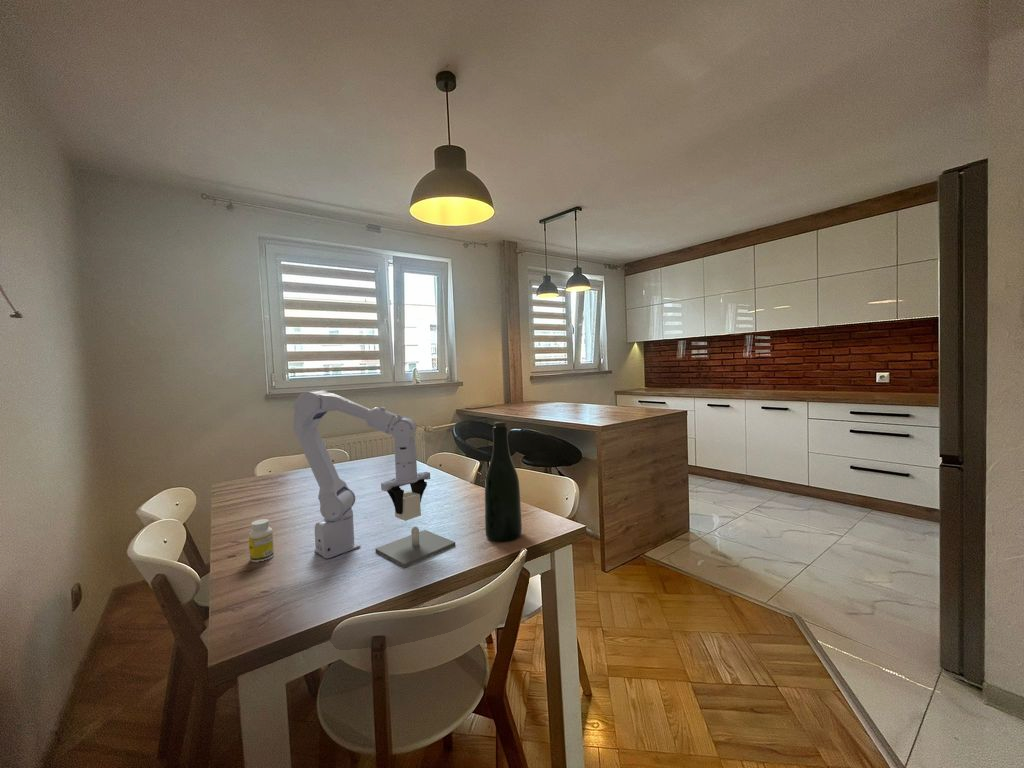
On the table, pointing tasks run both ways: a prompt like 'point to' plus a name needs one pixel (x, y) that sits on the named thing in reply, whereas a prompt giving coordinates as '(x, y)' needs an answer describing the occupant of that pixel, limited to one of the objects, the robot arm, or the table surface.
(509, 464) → the green wine bottle
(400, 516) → the sleeve
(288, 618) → the table surface
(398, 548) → the post board
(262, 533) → the supplement bottle
